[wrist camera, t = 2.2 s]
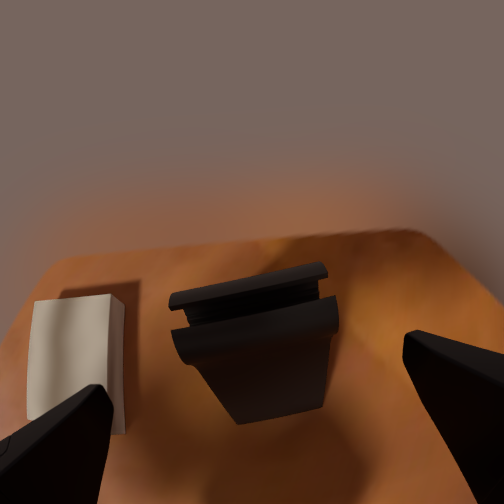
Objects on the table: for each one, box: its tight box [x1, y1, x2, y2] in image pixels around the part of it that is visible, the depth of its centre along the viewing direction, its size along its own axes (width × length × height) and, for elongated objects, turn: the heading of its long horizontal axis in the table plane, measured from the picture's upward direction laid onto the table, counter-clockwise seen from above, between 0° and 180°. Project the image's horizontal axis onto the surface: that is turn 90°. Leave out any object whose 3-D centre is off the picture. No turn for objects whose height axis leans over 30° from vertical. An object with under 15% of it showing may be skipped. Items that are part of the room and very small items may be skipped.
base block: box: [27, 294, 126, 435], centre depth 20 cm, size 9×11×2 cm
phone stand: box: [168, 261, 339, 425], centre depth 16 cm, size 9×6×12 cm, turn 11°
